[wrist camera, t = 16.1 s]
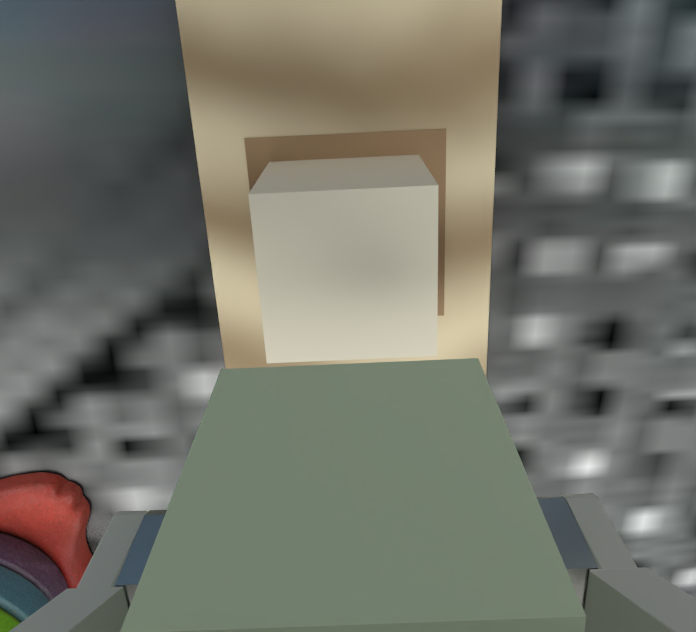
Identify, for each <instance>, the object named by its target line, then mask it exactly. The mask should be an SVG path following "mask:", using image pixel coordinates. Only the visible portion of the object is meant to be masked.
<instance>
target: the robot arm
mask: <svg viewBox="0 0 696 632" xmlns="http://www.w3.org/2000/svg"><path fill="white" fill-rule="evenodd" d="M537 500H538V502H539V505H540V507H541V509H542V512H543V514H544V517H545V519H546V521H547V524H548V526H549V529H550V531H551V533H552V536H553V538H554V540H555V543H556V545H557V548H558V550H559V552H560V555H561V557H562V560H563V562H564V564H565V567H566V569H567V571H568V574H569V576H570V579H571V581H572V583H573V586H574V588H575V591H576V593H577V595H578V598H579V600H580V602H581V605H582V607H583V610H584V612H585V614H586V623H585V630H584V632H696V599H695V598H693V597H692V596H690V595H689V594H687V593H686V592H684V591H683V590H681V589H679V588H678V587H676V586H675V585H673V584H672V583H670V582H669V581H667V580H666V579H664V578H662V577H661V576H659V575H658V574H656V573H655V572H653V571H652V570H650V569H649V568H637V566H636V564H635V563H634V561H633V559H632V557H631V555H630V554H629V552H628V550H627V548H626V547H625V545H624V543H623V541H622V539H621V538H620V536H619V534H618V532H617V531H616V529H615V527H614V525H613V524H612V522H611V520H610V518H609V516H608V515H607V513H606V511H605V509H604V508H603V506H602V504H601V502H600V500H599V499H598V497H597V496H595V495H594V494H593V493H588V494H571V495H561V496H550V497H537ZM166 511H167V510H150V511H119V512H118V513H117V514H115V515H114V516H113V517H112V518H111V520H110V522H109V524H108V526H107V528H106V530H105V532H104V534H103V536H102V538H101V540H100V542H99V544H98V546H97V548H96V550H95V552H94V554H93V556H92V558H91V560H90V562H89V564H88V566H87V568H86V570H85V572H84V574H83V576H82V578H81V580H80V582H79V584H78V586H77V588H70V589H66V590H64V591H63V592H62V593H60V594H59V595H58V596H56V597H55V598H54V599H52V600H51V601H50V602H48V603H47V604H46V605H44V606H43V607H41V608H40V609H39V610H37V611H36V612H35V613H33V614H32V615H31V616H29V617H28V618H27V619H25V620H24V621H22V622H21V623H20V624H18V625H17V626H16V627H14V628H13V629H12V630H10V631H9V632H120V630H121V628H122V625H123V623H124V620H125V617H126V615H127V612H128V610H129V607H130V604H131V602H132V599H133V597H134V594H135V591H136V589H137V586H138V584H139V581H140V578H141V576H142V573H143V571H144V568H145V566H146V563H147V560H148V558H149V555H150V553H151V550H152V547H153V545H154V542H155V540H156V537H157V534H158V532H159V529H160V527H161V524H162V521H163V519H164V516H165V514H166Z"/></svg>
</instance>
